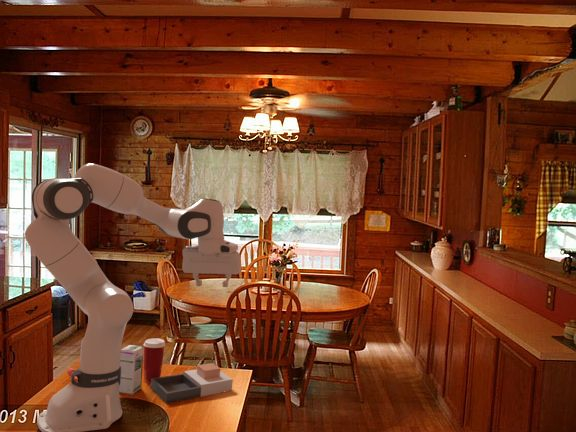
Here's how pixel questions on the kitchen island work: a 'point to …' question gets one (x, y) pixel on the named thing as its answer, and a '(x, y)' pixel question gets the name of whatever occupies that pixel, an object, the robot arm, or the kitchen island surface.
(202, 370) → the tile
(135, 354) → the syrup box
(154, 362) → the paper cup
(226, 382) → the flat white box
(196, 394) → the tray
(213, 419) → the kitchen island surface
